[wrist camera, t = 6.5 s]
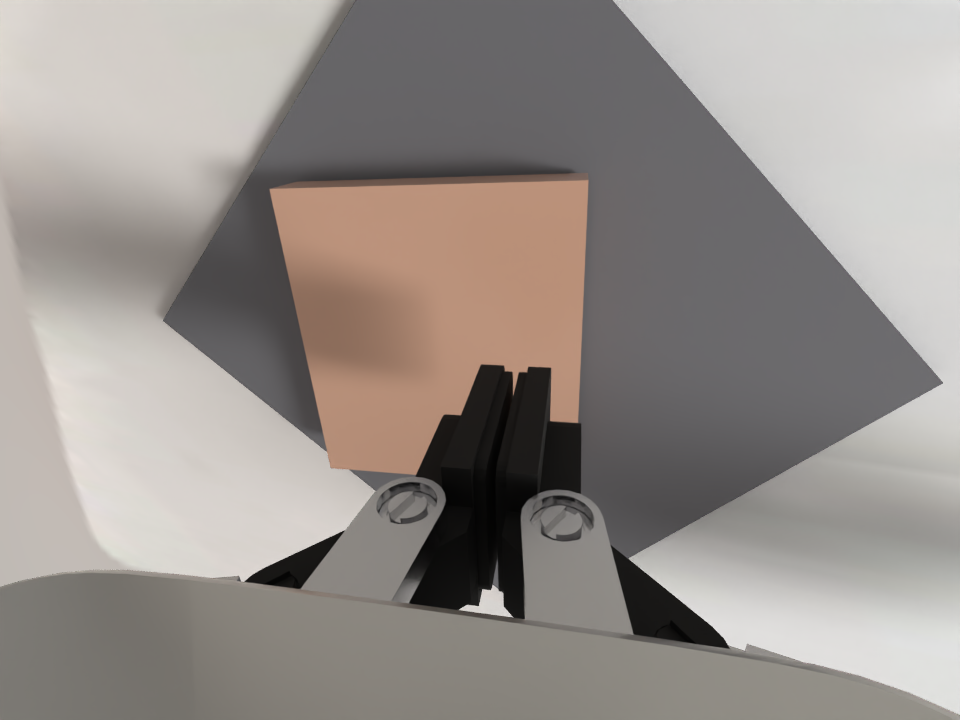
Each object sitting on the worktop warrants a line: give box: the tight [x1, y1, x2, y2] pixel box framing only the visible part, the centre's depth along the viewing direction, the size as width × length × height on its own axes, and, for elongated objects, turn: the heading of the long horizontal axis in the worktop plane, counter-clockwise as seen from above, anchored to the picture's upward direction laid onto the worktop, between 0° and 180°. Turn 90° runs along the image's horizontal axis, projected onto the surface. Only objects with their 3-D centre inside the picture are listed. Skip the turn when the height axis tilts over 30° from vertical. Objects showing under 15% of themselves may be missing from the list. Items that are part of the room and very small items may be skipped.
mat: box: [163, 0, 943, 589], centre depth 18 cm, size 20×18×1 cm
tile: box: [269, 173, 589, 475], centre depth 17 cm, size 10×2×9 cm
